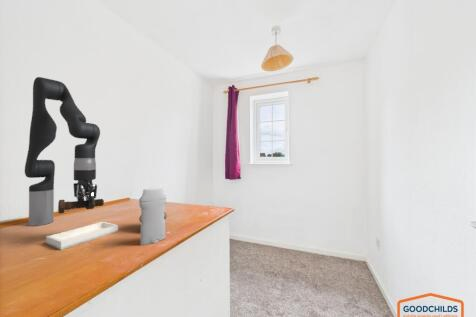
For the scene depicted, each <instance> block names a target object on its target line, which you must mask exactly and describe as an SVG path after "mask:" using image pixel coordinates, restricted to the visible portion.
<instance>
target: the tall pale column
mask: <svg viewBox="0 0 476 317" xmlns="http://www.w3.org/2000/svg"><path fill="white" fill-rule="evenodd" d="M139 200H140V202H139V207H140V211H141V212H140V213H141V214H140V216H141V215H142V223H141V224H140V244H139V245H140V246H148V245H151V244H156V243H158V242H161V241H163V240H165V239H166V219H165V220H164V216H165V214H164V212H165V209H166V203H167V194H165V192H164V188H163V187H157V186H155V187H154V186H153V187H148V188H146V189H145V188H144V189H143V190H142V195H141V196H140V198H139Z"/></svg>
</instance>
